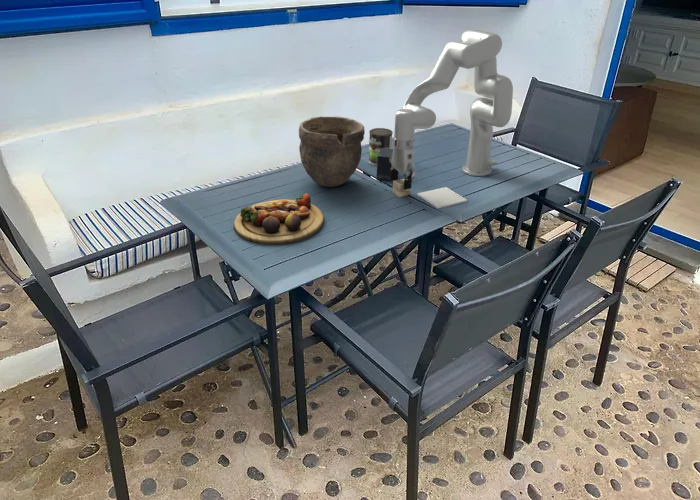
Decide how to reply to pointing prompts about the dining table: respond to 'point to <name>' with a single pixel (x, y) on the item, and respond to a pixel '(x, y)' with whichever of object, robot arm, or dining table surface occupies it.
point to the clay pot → (330, 148)
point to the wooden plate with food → (279, 221)
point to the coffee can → (378, 142)
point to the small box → (384, 164)
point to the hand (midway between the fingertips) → (400, 184)
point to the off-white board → (442, 197)
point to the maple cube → (400, 188)
